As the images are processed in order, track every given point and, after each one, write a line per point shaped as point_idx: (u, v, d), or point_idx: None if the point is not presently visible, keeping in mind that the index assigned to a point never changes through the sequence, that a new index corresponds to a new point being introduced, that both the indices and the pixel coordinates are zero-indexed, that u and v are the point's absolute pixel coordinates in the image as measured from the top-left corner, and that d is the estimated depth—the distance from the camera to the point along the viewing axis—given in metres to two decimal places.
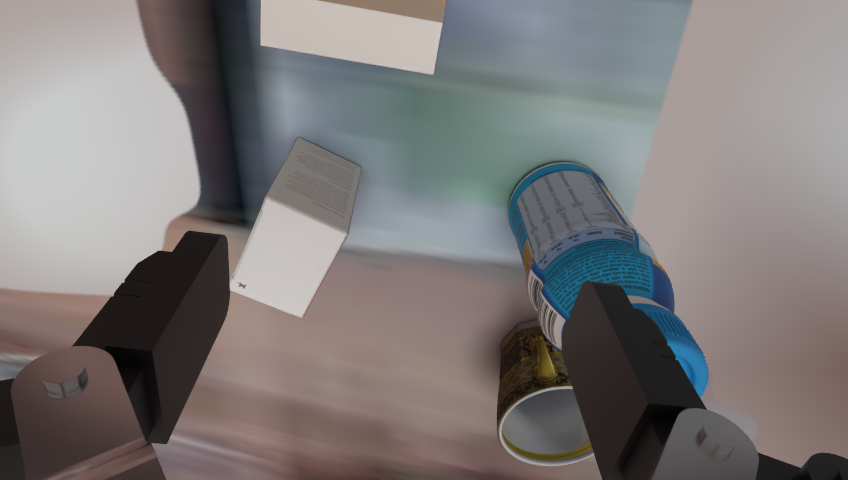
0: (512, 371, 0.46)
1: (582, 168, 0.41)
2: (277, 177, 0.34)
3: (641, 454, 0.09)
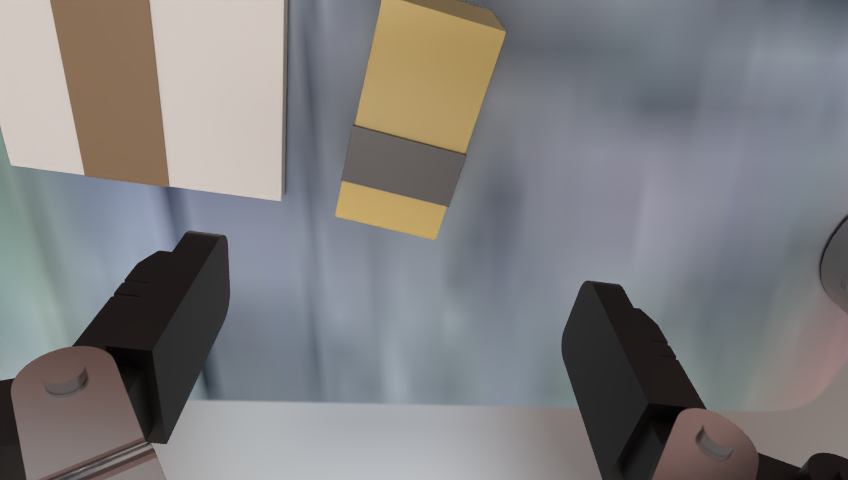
0: None
1: None
2: None
3: (641, 454, 0.09)
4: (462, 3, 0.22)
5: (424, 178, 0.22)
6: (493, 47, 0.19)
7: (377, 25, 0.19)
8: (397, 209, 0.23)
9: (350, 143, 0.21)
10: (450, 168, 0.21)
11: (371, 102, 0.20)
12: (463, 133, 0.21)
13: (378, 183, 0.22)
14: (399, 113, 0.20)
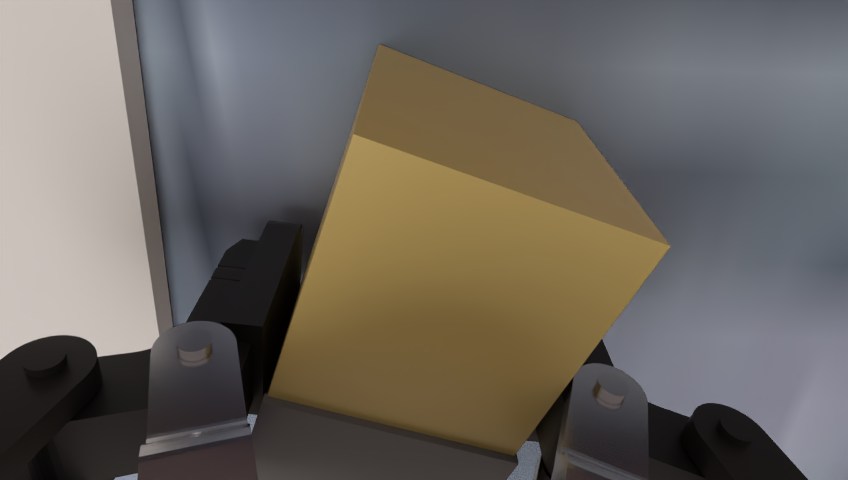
0: None
1: None
2: None
3: None
4: (527, 110, 0.11)
5: None
6: (628, 274, 0.07)
7: (333, 204, 0.07)
8: None
9: (255, 431, 0.09)
10: None
11: (309, 358, 0.08)
12: (518, 422, 0.09)
13: None
14: (375, 382, 0.09)
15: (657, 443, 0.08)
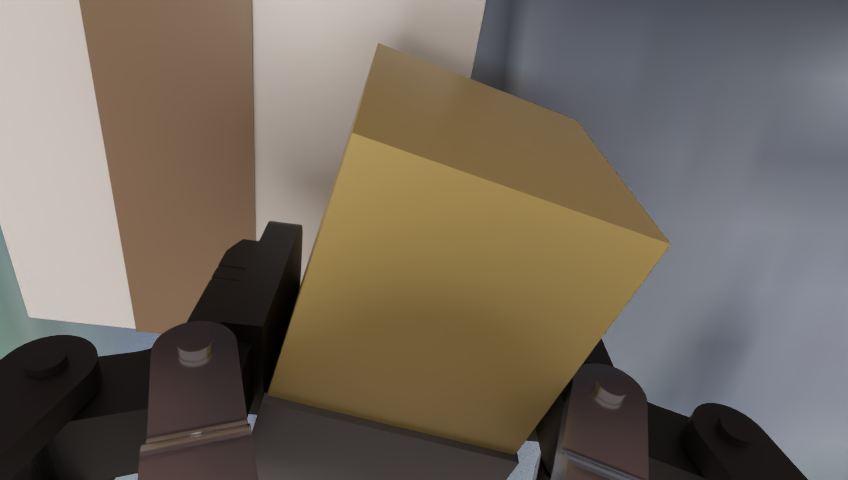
0: None
1: None
2: None
3: (549, 408, 0.10)
4: (526, 109, 0.10)
5: None
6: (628, 272, 0.07)
7: (332, 203, 0.07)
8: None
9: (255, 430, 0.09)
10: (479, 479, 0.10)
11: (310, 357, 0.08)
12: (518, 422, 0.09)
13: None
14: (375, 381, 0.09)
15: (657, 443, 0.08)
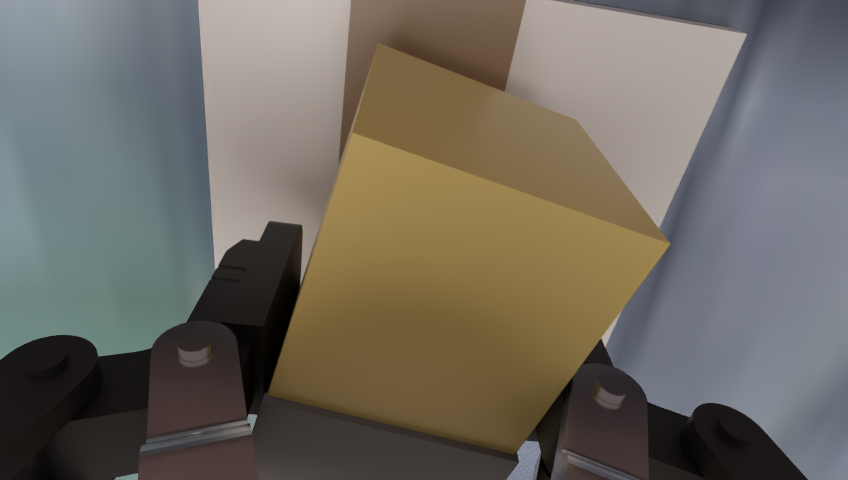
0: None
1: None
2: None
3: (549, 408, 0.10)
4: (526, 109, 0.11)
5: None
6: (628, 272, 0.07)
7: (332, 203, 0.07)
8: None
9: (256, 430, 0.09)
10: (480, 478, 0.10)
11: (310, 357, 0.08)
12: (518, 422, 0.09)
13: None
14: (375, 381, 0.09)
15: (657, 443, 0.08)
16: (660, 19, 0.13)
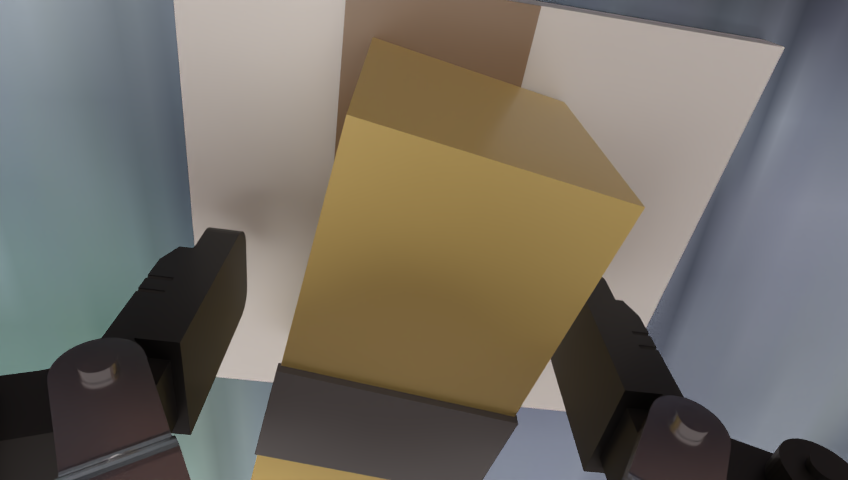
0: None
1: None
2: None
3: (619, 441, 0.09)
4: (515, 93, 0.11)
5: (427, 455, 0.10)
6: (607, 236, 0.08)
7: (331, 181, 0.08)
8: None
9: (271, 399, 0.10)
10: (482, 441, 0.10)
11: (318, 327, 0.09)
12: (515, 384, 0.10)
13: (332, 460, 0.11)
14: (380, 348, 0.09)
15: None
16: (689, 31, 0.11)
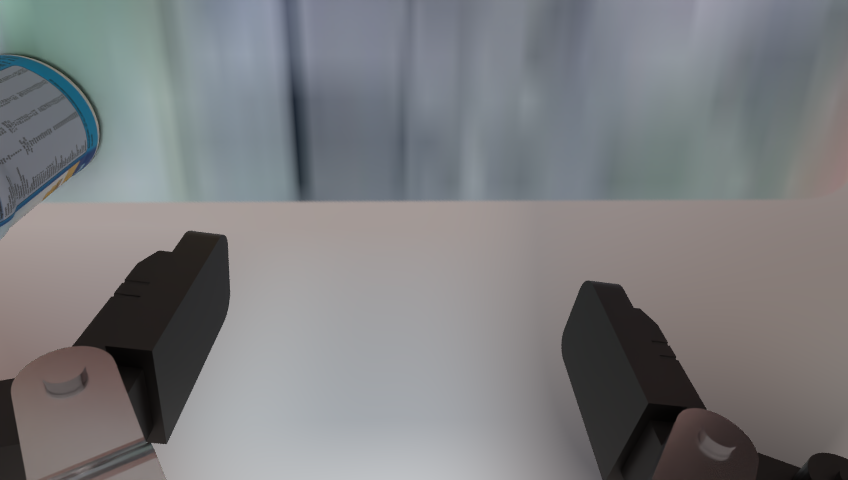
0: None
1: (93, 138, 0.35)
2: None
3: (641, 454, 0.09)
4: None
5: None
6: None
7: None
8: None
9: None
10: None
11: None
12: None
13: None
14: None
15: None
16: None
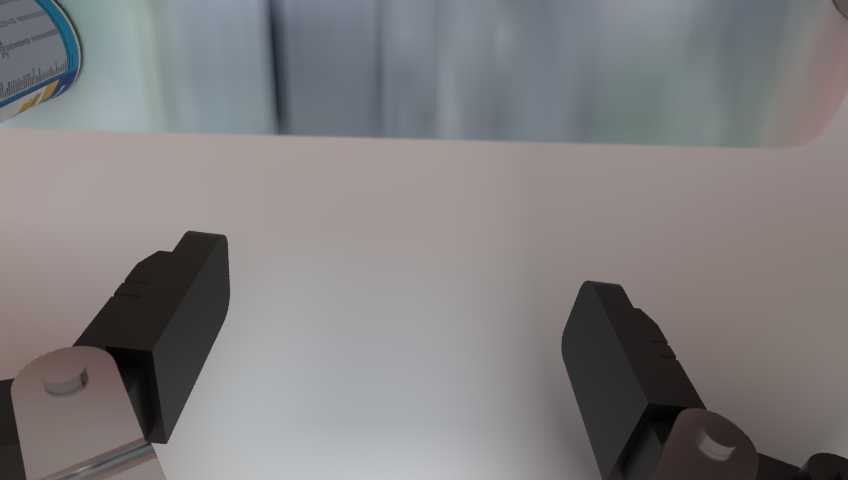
0: None
1: (74, 59, 0.35)
2: None
3: (641, 454, 0.09)
4: None
5: None
6: None
7: None
8: None
9: None
10: None
11: None
12: None
13: None
14: None
15: None
16: None
